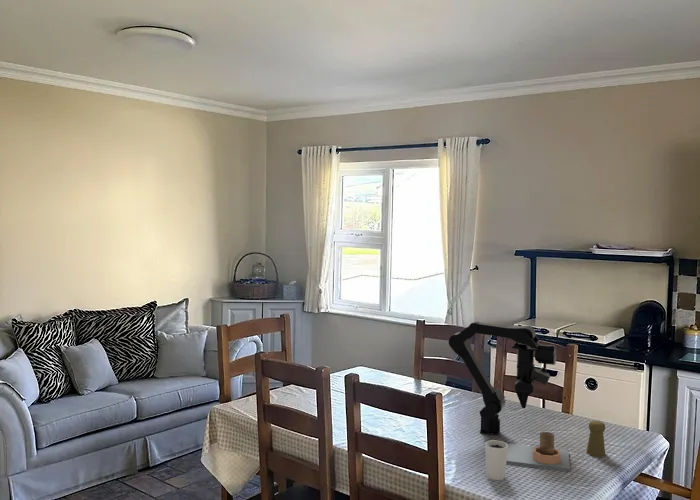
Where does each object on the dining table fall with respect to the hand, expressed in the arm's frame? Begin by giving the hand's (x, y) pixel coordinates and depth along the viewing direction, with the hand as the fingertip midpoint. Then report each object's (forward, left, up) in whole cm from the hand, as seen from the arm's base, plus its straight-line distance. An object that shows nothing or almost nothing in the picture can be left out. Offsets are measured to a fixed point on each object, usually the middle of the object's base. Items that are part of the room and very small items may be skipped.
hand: (524, 404), depth 227 cm
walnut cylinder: (+8, -21, -11) cm, 25 cm away
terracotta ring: (+8, -21, -12) cm, 25 cm away
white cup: (-7, -38, -12) cm, 40 cm away
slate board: (+5, -19, -12) cm, 23 cm away
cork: (+24, -8, -12) cm, 28 cm away
